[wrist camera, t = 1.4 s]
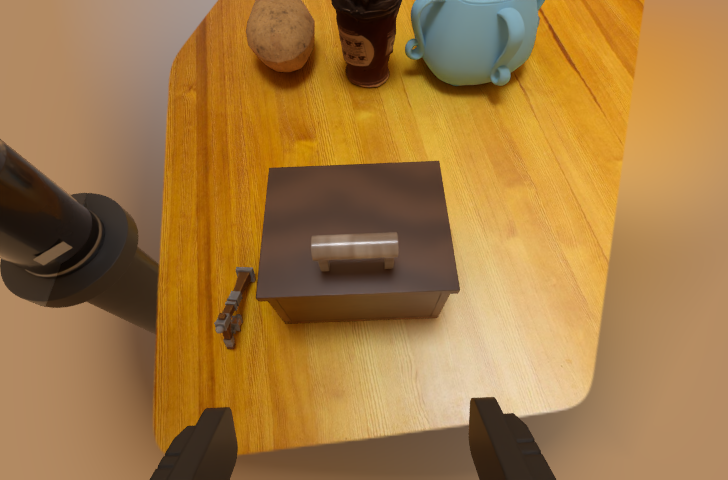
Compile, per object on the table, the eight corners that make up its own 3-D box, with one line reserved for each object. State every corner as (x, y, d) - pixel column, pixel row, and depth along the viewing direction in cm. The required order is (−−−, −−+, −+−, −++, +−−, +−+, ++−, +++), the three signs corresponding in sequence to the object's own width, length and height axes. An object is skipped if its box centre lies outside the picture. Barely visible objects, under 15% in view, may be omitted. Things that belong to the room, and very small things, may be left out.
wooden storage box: (437, 317, 39) (456, 282, 30) (285, 323, 39) (259, 290, 30) (425, 220, 44) (437, 166, 35) (291, 225, 44) (271, 173, 35)
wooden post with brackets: (217, 356, 36) (206, 325, 34) (243, 295, 43) (235, 265, 40) (236, 357, 36) (226, 327, 34) (259, 295, 43) (252, 266, 40)
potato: (255, 95, 54) (237, 44, 47) (255, 34, 61) (239, -19, 54) (323, 88, 55) (315, 36, 48) (316, 28, 61) (308, -26, 54)
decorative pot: (445, 15, 62) (462, -87, 50) (539, 49, 57) (583, -54, 45) (392, 72, 56) (396, -28, 44) (492, 115, 51) (527, 16, 39)
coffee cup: (366, 103, 53) (364, 10, 41) (326, 75, 56) (314, -19, 44) (408, 73, 56) (417, -23, 44) (368, 47, 59) (366, -48, 47)
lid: (458, 293, 30) (473, 266, 25) (258, 301, 30) (237, 276, 25) (437, 166, 35) (447, 125, 31) (271, 173, 35) (255, 133, 31)
